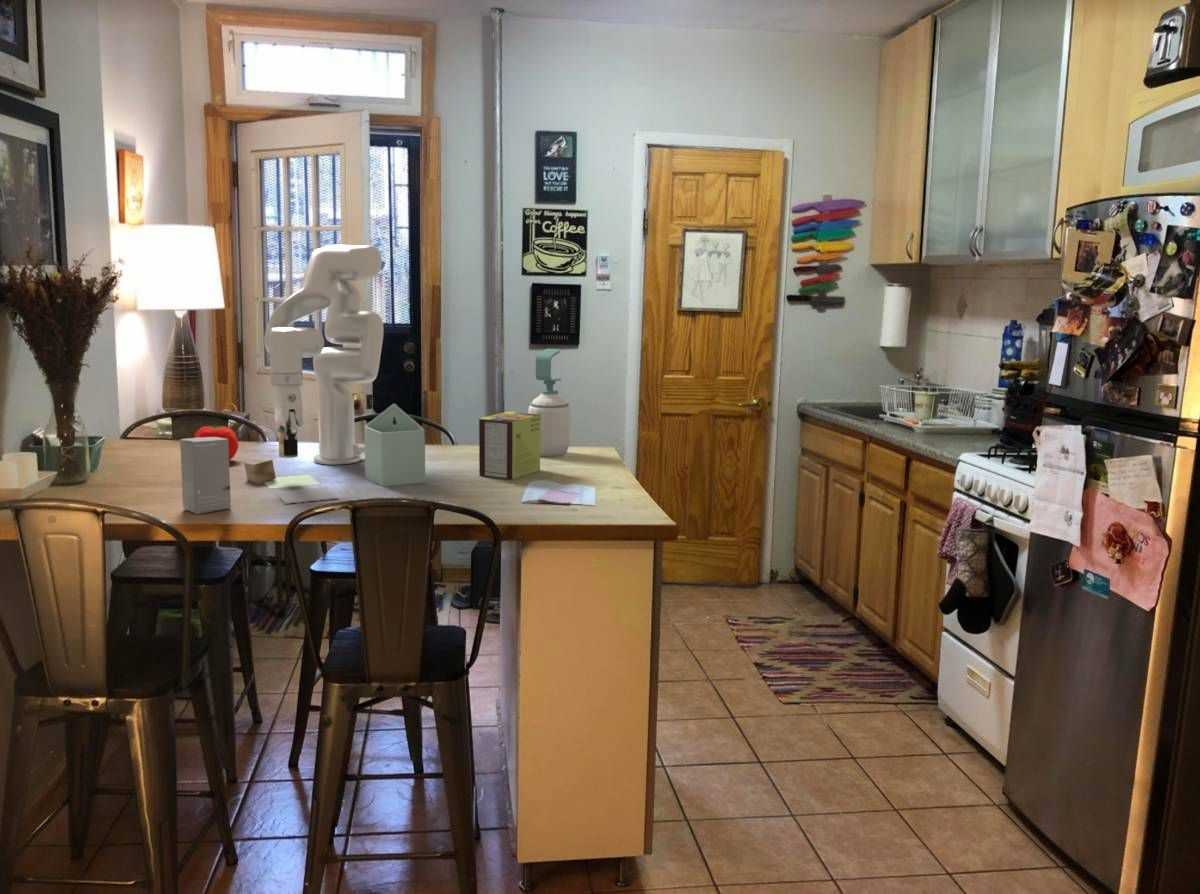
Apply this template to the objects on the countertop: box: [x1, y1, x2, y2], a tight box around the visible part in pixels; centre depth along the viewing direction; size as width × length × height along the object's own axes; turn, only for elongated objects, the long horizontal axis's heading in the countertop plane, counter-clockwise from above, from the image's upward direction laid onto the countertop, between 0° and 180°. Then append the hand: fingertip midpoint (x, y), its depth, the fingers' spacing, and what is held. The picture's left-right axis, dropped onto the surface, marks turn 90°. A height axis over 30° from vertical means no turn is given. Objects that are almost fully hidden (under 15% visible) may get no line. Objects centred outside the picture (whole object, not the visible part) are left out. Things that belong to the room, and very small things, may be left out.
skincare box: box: [179, 437, 232, 515], centre depth 206 cm, size 8×7×16 cm
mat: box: [263, 474, 321, 489], centre depth 235 cm, size 12×12×1 cm
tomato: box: [193, 424, 239, 461], centre depth 257 cm, size 12×12×10 cm
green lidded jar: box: [277, 427, 299, 459], centre depth 233 cm, size 5×5×7 cm
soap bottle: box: [527, 348, 571, 458], centre depth 278 cm, size 12×12×31 cm
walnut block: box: [243, 457, 276, 484], centre depth 234 cm, size 5×5×5 cm
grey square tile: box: [274, 486, 339, 505], centre depth 221 cm, size 12×12×1 cm
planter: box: [363, 403, 426, 487], centre depth 236 cm, size 16×8×20 cm, turn 78°
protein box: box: [478, 411, 541, 481], centre depth 252 cm, size 10×15×16 cm
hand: (288, 452), depth 233 cm, fingers closed on green lidded jar, 4 cm apart
